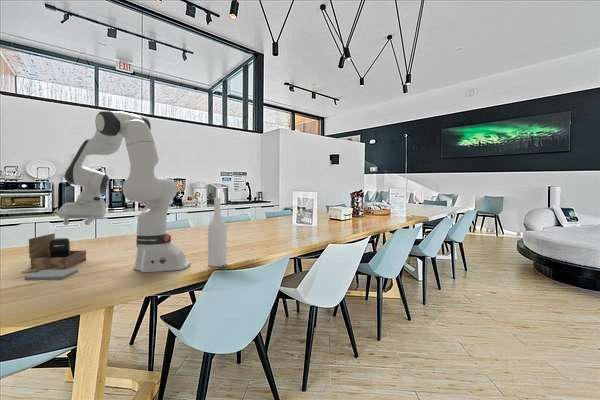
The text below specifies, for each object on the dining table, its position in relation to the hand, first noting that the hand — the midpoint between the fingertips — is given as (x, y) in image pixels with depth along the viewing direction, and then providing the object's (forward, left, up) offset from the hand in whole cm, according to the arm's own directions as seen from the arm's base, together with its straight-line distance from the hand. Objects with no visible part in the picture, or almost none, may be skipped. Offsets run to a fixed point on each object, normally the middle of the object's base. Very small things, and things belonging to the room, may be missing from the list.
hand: (76, 224), depth 148 cm
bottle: (-68, +17, -16) cm, 72 cm away
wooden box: (0, +15, -16) cm, 22 cm away
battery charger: (0, +12, -16) cm, 20 cm away
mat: (-8, +30, -16) cm, 35 cm away
